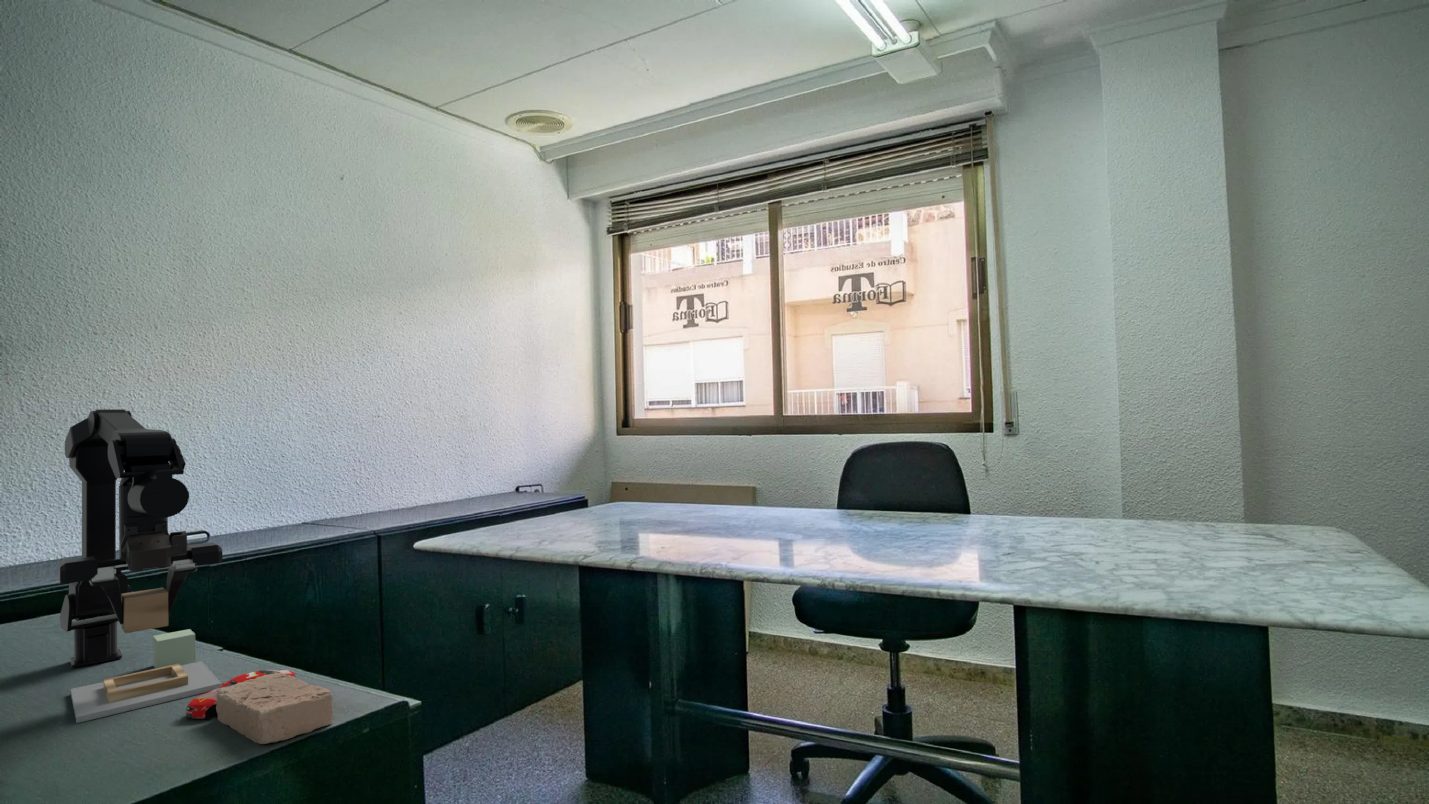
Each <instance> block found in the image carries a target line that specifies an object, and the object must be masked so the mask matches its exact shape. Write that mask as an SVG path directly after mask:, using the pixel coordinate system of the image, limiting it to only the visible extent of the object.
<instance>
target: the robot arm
mask: <svg viewBox="0 0 1429 804" xmlns="http://www.w3.org/2000/svg"><path fill="white" fill-rule="evenodd" d="M132 416H133V415H132V412H131V411H130V410H126V409H123V408H121V409H118V408H117V409H116V408H115V409H112V408H111V409H110V408H109V409H107V408H106V409H105V408H104V409H103V408H102V409H100V408H96V409H95V410H91V411H90V412H89V414H88V416H87V418H85V419H83V420H81V421H79V422H77V423H75V424H74V425H71V426H70V428H69V430H68V432H67V434H66V438H65V440H64V455H65V458H66V459H68V462H69V468H70V469H71V470H72V472H73V473H74V474H75V475H76V476H77V478H78V479H79V480H80V481H81V557H79V558H77V557H75V558H70V559H63V560H62V561H60V563H59V564H58V582H59V584H60V585H66V584H68V594H65V596H64V599H63V603H62V607H61V610H60V615H59V620H60V621H59V622H60V629H61V630H64V631H65V632H72V631H73V656H72V657H70V658H69V662H70V666H71V668H79V667H84V666H89V665H92V664H93V665H95V664H99V663H105V662H110V661H114V660H119V659H123V653H122V652H121V650H120V648H119V647H118V638H119V637H118V623H119V625H121V624H123V623H124V612H123V607H122V601H121V594H124V593H130V592H134V591H133V590H132V588H131V585H130V584H129V583H128V582H129V579H128V577H127V575H125V574H124V573H123V572H124V571H130V572H142V571H143V570H149V569H150V570H151V569H157V568H158V569H164V568H168V569H167V577H166V578H167V579H166V587H165V590H166V591H168V617H169V616H170V615H171V612H172V610H173V608H174V604H175V602H176V598H177V596H178V593H179V592H180V589H181V587H182V585H183V584H184V581H185V580H186V578H187V577H188V576H189V574H190V573H196V572H197V570H198V567H199V566H206V565H215V564H221V563H223V549H222V547H221V546H220V545H218V544H217V543H214V542H213V541H212V542H205V543H197V544H188V533H187V531H186V530H183V531H174V532H173V531H172V532H170V533H169V518H170V517H173V516H176V515H178V514H179V513H181V512H182V511H183V510H184V509H185V507H187V505H188V502H189V500H190V492H189V491H188V488H187V486H186V484H185V483H183V482H182V481H181V480H179V479H176V478H174V477H173V476H175V475H177V476H178V475H184V474H185V471H184V470H185V467H186V461H185V459H184V456H183V453H182V451H181V449H180V446H179V445H178V444H177V441H176V438H174V437H172V434H171V433H170V432H168V431H167V430H162V429H152V428H150V429H149V428H146V427H144V426H143V425H142V424H141V423H140V422H139V421H137V420H136V419H135V418H134V417H132ZM118 479H120V481H119V486H118V544H119V545H118V547H119V548H118V551H119V553H118V554H119V555H118V556H119V557H118V558H117V555H116V549H117V546H116V545H117V543H116V539H117V538H116V537H117V533H116V532H117V529H116V528H117V526H116V525H117V523H116V522H117V518H116V517H117V513H116V512H117V509H116V508H117V507H116V505H117V503H116V501H117V499H116V498H117V496H116V494H117V493H116V492H117V491H116V490H117V480H118ZM196 565H197V566H198V567H196ZM73 620H75V621H73Z"/></svg>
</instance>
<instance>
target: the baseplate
mask: <svg viewBox="0 0 1429 804" xmlns="http://www.w3.org/2000/svg"><path fill="white" fill-rule="evenodd" d="M221 686H222V682H221V681H220V680H219V679H218V678H217V676H215V674H214V673H213V672H212V671H211V670H210V669H209V667H208V666H207V665H206V664H205V663H204V662H203V661H202V660H201V661H196V662H195V663H190V664H186V665H181V666H180V665H179V664H175V665H170V666H165V667H161V668H156V669H155V668H152V669H148V670H147V669H146V670H143V671H142V670H141V671H138V672H133V673H128V674H124V675H117V676H113V677H110V678H109V677H108V678H105V679H103V680H102V682H99V683H92V684H88V685H84V686H78V687H74V688H70V698H71V699H70V700H71V703H72V708H73V713H74V717H75V724H79V723H83V722H87V721H92V720H95V719H101V718H104V717H108V716H113V715H117V714H121V713H124V712H129V711H133V710H139V709H141V708H148V707H150V706H155V705H158V704H162V703H167V702H171V701H172V702H173V701H176V700H179V699H183V698H188V697H192V696H196V695H202V694H205V693H208V692H210V691H213V690H215V689H217V688H219V687H221Z"/></svg>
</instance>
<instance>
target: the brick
mask: <svg viewBox="0 0 1429 804" xmlns="http://www.w3.org/2000/svg"><path fill="white" fill-rule="evenodd" d="M216 698H217V699H218V701H217V705H216V711H217V713H218V717H217V720H218V721H219V722H220V723H221V724H224V725H225V726H229V727H230V728H231V729H233V730H234V731H237V733H238V734H241V735H242V736H244V737H246V738H247V739H249V740H251V741H252V742H255V743H257V744H260V745H266V744H270V743H277V742H280V741H281V742H282V741H285V740H288V739H291V738H295V737H296V736H299V735H302V734H309V733H311V732H312V731H314V730H316V729H319V728H323V727H325V726H329V725H330V724H333V721H334V718H333V717H334V713H333V712H334V710H333V709H334V707H333V698H334V697H333V694H332V691H331V690H330V689H329V688H325V687H321V686H320V685H319V686H318V685H312V684H311V685H309V683H307V682H305V681H303V680H301V679H300V678H298V677H296V678H295V677H294V676H290V675H286V674H285V673H274V674H269V675H264V676H261V677H257V678H255V679H250V680H246V681H244V682H242V683H237V684H235V685H232V686H229V687H226V688H221V689H220V690H218V693H217V695H216Z"/></svg>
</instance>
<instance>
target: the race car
mask: <svg viewBox="0 0 1429 804" xmlns="http://www.w3.org/2000/svg"><path fill="white" fill-rule="evenodd" d="M274 673H285V674H286V675H290V676H294V677H295V678H297V676H296V674H295V673H294V671H292V670H288V669H281V670H274V669H273V670H272V669H261V670H255V671H251V672H246V673H243V674H240V675H237V676H235V677H233V678H231V679H230V680H228V681H227V682H222V683H221V687H219V688H217V689H215V690H213V691H209V692H205V693H201V694H199V696H196V697H194V698H193V699H192V700H190V702H188V705H187V706H186V708H185V714H186V717H187V718H190V719H195V720H200V719H201V720H202V719H208V720H213V719H215V718H218V713H217V711H216V705H217V701H218V699H217V698H216V695H217V693H218V690H220V689H221V688H226V687H229V686H232V685H235V684H237V683H242V682H244V681H246V680H250V679H255V678H257V677H261V676H264V675H269V674H274Z"/></svg>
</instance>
